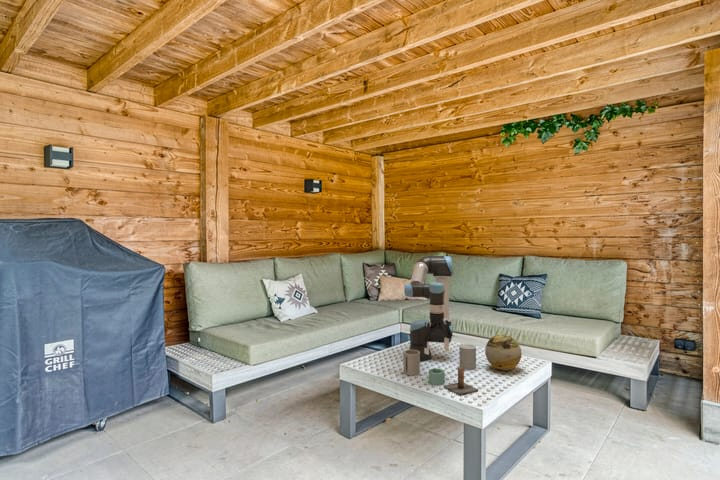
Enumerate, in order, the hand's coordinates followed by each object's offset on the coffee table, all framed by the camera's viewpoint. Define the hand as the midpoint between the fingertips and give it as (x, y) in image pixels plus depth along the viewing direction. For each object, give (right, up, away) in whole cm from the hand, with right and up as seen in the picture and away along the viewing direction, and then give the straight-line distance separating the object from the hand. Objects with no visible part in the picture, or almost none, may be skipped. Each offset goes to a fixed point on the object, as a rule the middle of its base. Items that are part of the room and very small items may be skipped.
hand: (436, 352), depth 220 cm
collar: (0, -16, +1) cm, 16 cm away
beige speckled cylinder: (+23, -16, +24) cm, 36 cm away
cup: (-11, -16, +15) cm, 25 cm away
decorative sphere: (+42, -16, +20) cm, 49 cm away
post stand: (+10, -17, -10) cm, 22 cm away
